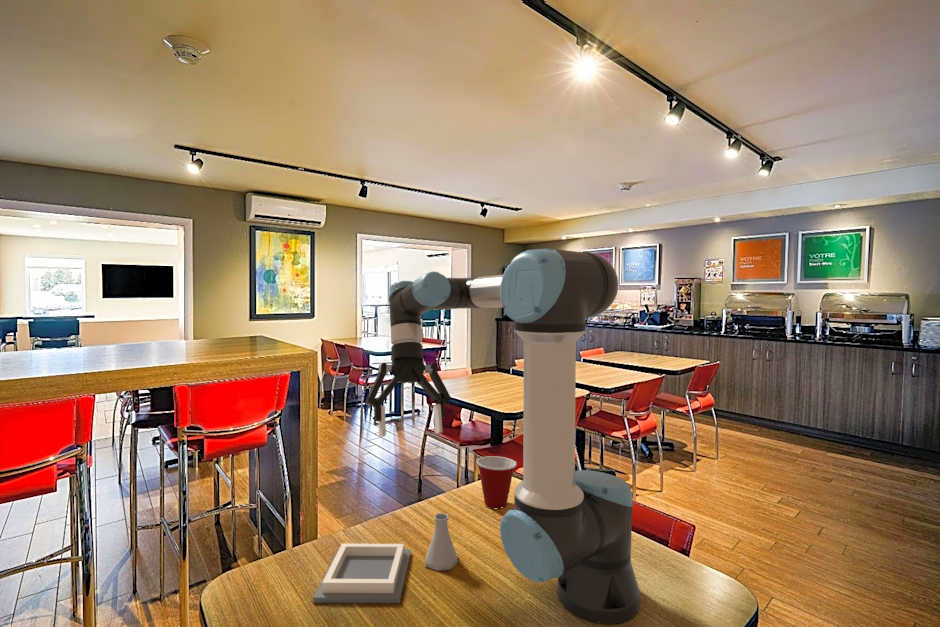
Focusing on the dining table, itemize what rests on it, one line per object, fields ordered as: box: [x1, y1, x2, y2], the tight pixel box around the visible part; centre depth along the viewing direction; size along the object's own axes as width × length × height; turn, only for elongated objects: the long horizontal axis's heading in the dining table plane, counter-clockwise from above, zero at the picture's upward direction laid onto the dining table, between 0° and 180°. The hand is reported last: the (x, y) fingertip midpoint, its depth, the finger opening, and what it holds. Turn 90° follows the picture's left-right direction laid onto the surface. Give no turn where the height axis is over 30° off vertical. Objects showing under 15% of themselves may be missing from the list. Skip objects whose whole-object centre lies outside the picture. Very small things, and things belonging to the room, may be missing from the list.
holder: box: [312, 542, 412, 604], centre depth 95 cm, size 16×16×3 cm
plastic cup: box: [476, 455, 517, 509], centre depth 126 cm, size 11×11×12 cm
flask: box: [424, 512, 459, 571], centre depth 100 cm, size 7×7×10 cm
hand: (411, 434), depth 107 cm, fingers open, 13 cm apart
